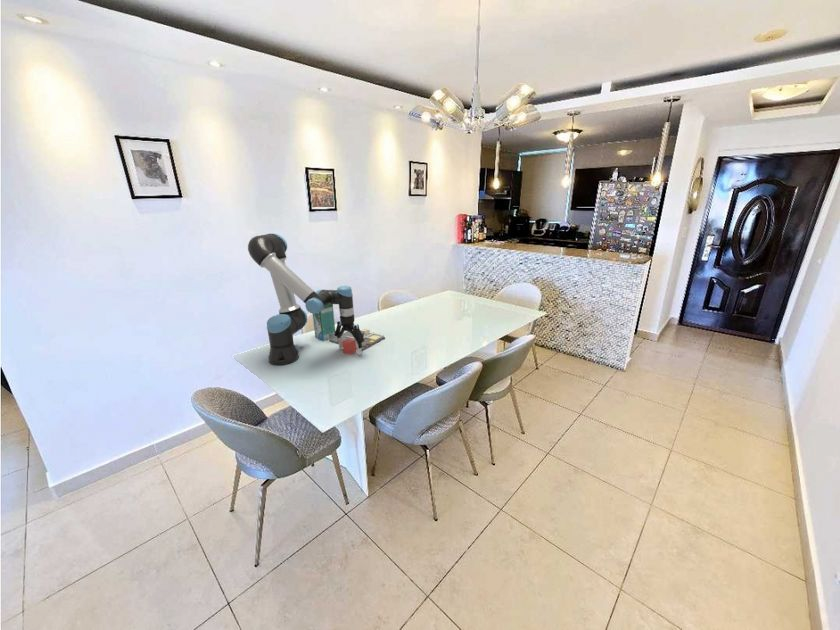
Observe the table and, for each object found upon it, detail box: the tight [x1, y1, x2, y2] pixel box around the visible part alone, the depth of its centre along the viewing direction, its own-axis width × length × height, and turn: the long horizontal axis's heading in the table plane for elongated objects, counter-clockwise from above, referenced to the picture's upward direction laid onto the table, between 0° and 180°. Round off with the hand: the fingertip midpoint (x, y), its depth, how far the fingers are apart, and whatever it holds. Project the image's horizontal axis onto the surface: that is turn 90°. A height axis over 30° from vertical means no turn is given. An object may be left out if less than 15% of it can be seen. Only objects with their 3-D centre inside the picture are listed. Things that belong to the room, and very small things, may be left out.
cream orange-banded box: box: [361, 328, 371, 336], centre depth 209 cm, size 3×4×4 cm
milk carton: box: [312, 304, 336, 342], centre depth 206 cm, size 9×9×25 cm
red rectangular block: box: [342, 338, 357, 356], centre depth 189 cm, size 5×5×7 cm
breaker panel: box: [328, 329, 386, 352], centre depth 205 cm, size 26×21×5 cm
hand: (350, 350), depth 190 cm, fingers open, 13 cm apart
